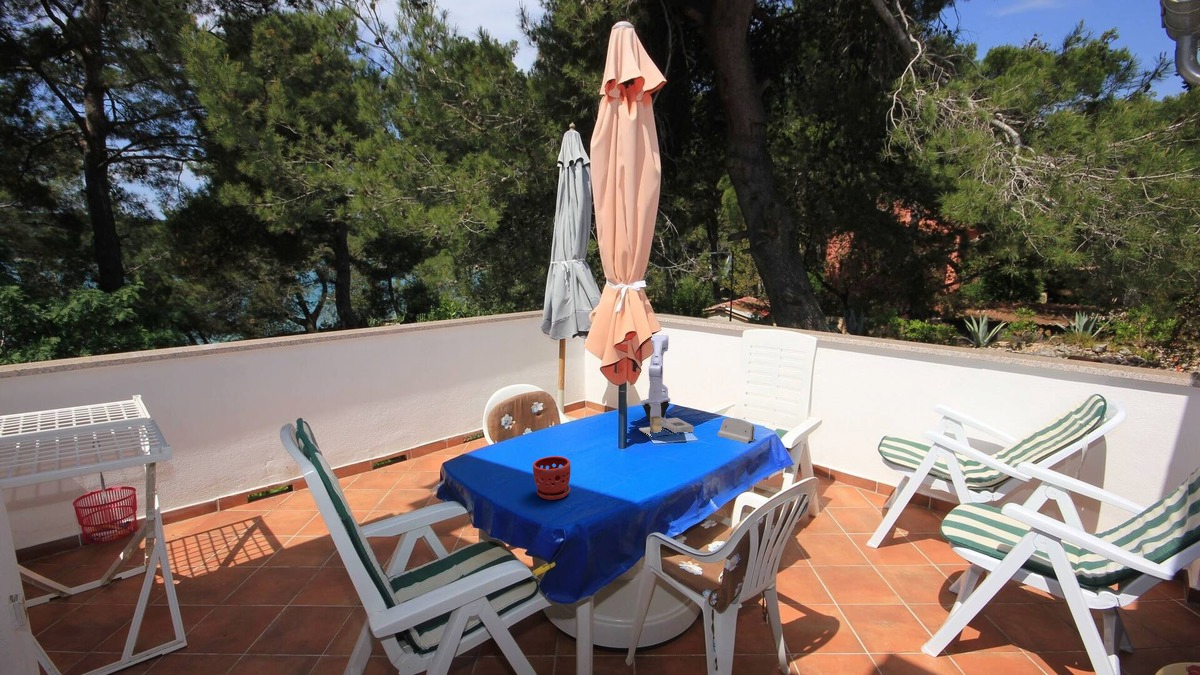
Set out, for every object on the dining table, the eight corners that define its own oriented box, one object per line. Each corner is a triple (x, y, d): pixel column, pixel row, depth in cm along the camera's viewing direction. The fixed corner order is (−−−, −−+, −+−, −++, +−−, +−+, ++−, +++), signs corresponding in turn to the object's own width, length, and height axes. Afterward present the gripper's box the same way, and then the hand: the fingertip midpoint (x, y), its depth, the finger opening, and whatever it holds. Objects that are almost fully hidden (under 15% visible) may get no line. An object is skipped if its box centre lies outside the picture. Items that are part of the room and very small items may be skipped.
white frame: (659, 425, 274) (659, 419, 273) (677, 423, 277) (677, 417, 277) (674, 434, 259) (674, 428, 258) (693, 432, 262) (693, 426, 262)
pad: (638, 429, 268) (638, 428, 267) (657, 427, 271) (657, 425, 271) (651, 437, 255) (651, 436, 255) (670, 435, 258) (670, 434, 258)
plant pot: (555, 484, 203) (554, 452, 201) (578, 494, 193) (578, 462, 191) (526, 494, 194) (525, 461, 192) (549, 506, 184) (548, 472, 183)
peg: (650, 431, 263) (650, 416, 262) (657, 430, 264) (657, 415, 263) (653, 433, 259) (653, 419, 258) (661, 432, 261) (661, 418, 260)
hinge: (716, 435, 257) (721, 414, 258) (722, 436, 260) (726, 416, 261) (748, 443, 245) (752, 421, 246) (753, 445, 248) (758, 423, 249)
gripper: (645, 393, 253) (645, 422, 255) (673, 390, 258) (673, 418, 260) (639, 390, 259) (639, 418, 261) (666, 387, 264) (666, 414, 266)
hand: (655, 418), depth 261 cm, fingers open, 7 cm apart
